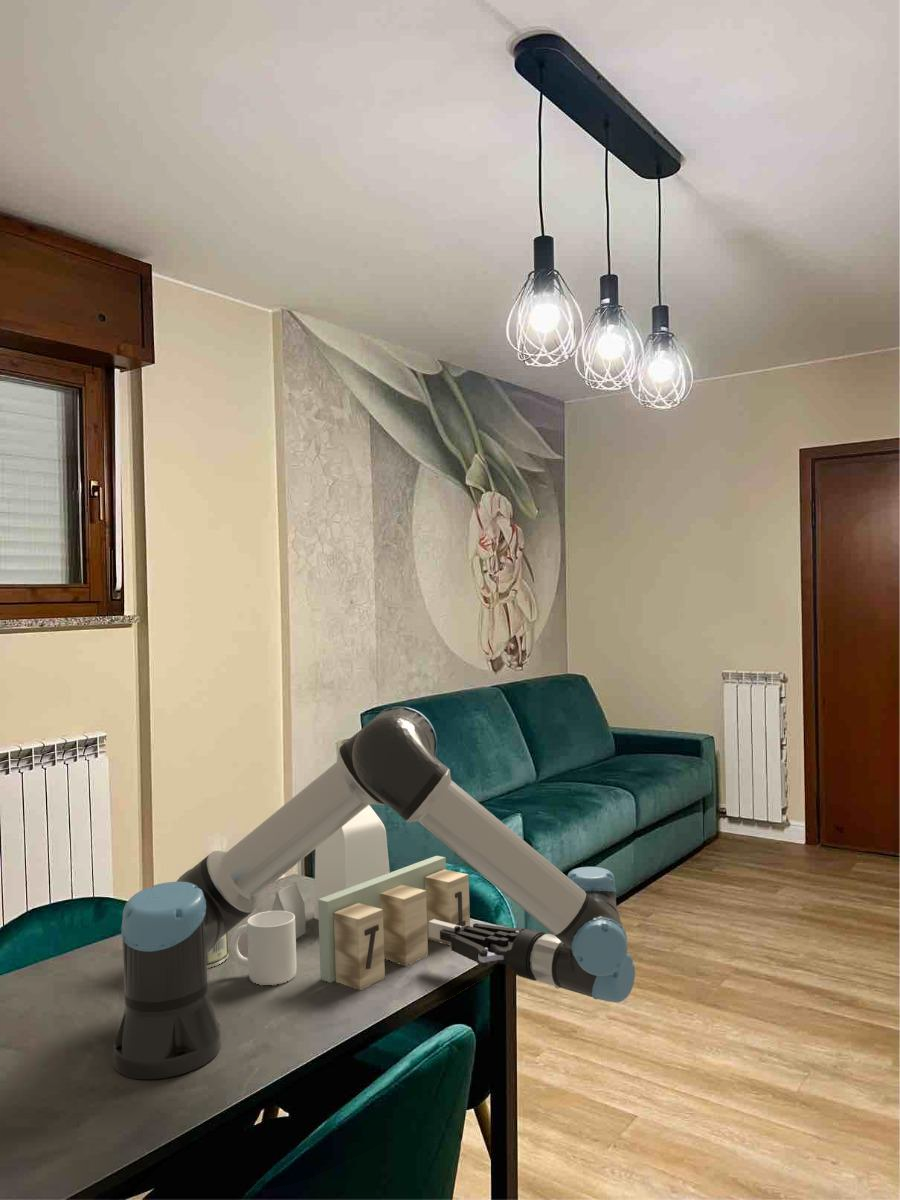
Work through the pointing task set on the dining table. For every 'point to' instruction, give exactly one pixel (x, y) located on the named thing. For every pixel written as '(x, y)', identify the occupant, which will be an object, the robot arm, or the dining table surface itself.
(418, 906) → the plain block
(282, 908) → the white juice carton
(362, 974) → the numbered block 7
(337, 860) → the milk
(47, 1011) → the dining table surface
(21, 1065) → the dining table surface
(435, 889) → the numbered block 1
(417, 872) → the rack board
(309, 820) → the robot arm
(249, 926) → the mug
